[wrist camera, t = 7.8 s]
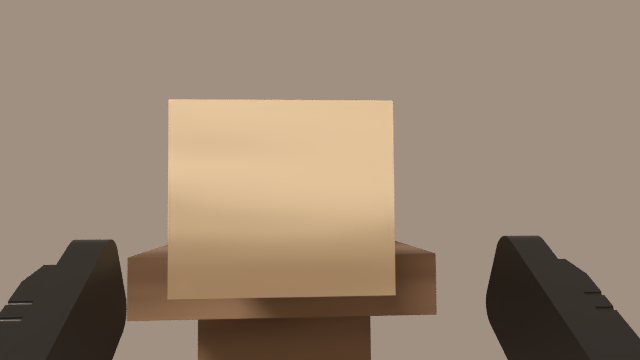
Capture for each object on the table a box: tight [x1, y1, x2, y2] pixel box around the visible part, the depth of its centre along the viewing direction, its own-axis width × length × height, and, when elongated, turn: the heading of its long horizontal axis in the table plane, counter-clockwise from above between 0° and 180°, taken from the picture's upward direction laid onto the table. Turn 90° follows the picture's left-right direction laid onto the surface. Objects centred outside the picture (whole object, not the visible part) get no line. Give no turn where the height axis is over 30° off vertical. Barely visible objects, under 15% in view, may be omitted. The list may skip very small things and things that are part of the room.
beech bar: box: [167, 99, 396, 300], centre depth 19 cm, size 19×4×4 cm, turn 4°
